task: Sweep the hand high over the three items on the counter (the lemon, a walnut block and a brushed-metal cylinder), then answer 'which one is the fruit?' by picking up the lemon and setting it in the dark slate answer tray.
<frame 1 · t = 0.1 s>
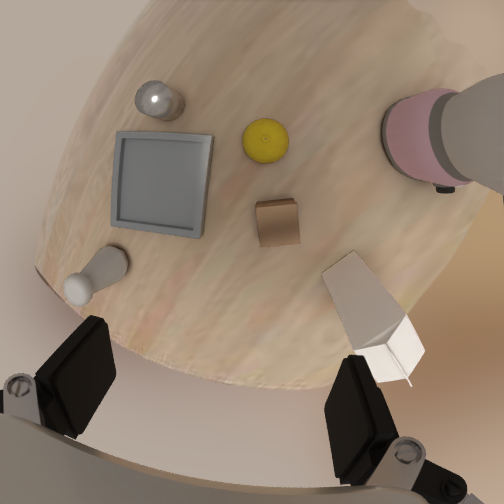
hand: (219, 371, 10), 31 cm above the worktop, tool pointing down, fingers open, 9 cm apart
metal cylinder: (169, 106, 36), on the worktop
blender: (416, 149, 36), on the worktop
walnut block: (276, 217, 40), on the worktop
lemon: (265, 142, 37), on the worktop
answer tray: (160, 181, 39), on the worktop
salt shaker: (117, 259, 43), on the worktop
milk: (347, 275, 42), on the worktop
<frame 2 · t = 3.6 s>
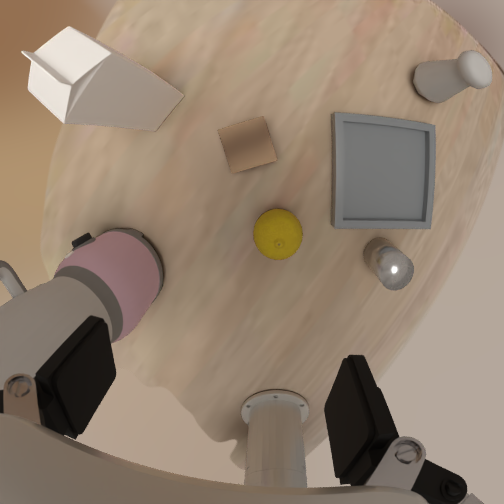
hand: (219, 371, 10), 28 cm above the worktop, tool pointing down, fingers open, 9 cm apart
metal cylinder: (378, 252, 37), on the worktop
blender: (123, 256, 39), on the worktop
walnut block: (250, 145, 33), on the worktop
lemon: (276, 224, 37), on the worktop
answer tray: (383, 172, 33), on the worktop
salt shaker: (424, 85, 29), on the worktop
milk: (154, 101, 32), on the worktop
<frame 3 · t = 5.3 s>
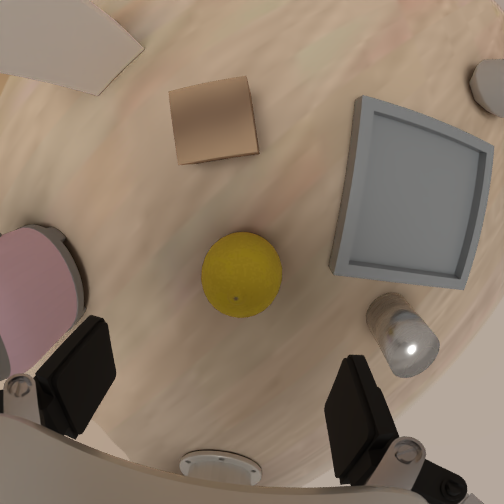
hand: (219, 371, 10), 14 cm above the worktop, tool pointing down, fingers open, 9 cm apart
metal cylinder: (387, 313, 25), on the worktop
blender: (44, 261, 26), on the worktop
walnut block: (223, 127, 21), on the worktop
lemon: (246, 254, 24), on the worktop
answer tray: (417, 199, 22), on the worktop
salt shaker: (482, 91, 18), on the worktop
milk: (106, 56, 19), on the worktop
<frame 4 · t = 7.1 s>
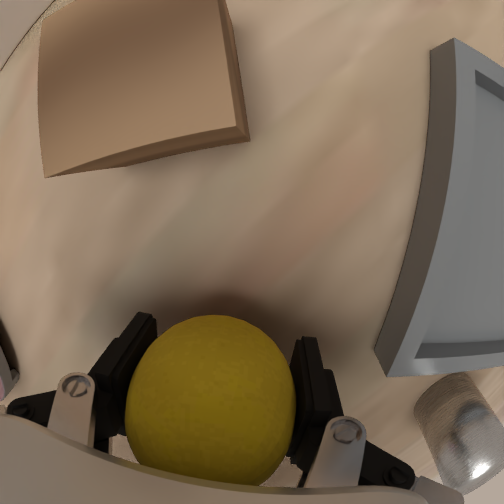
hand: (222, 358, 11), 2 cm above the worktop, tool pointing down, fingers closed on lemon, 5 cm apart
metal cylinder: (443, 397, 14), on the worktop
walnut block: (176, 91, 9), on the worktop
lemon: (227, 334, 13), on the worktop, touching gripper
milk: (19, 13, 7), on the worktop
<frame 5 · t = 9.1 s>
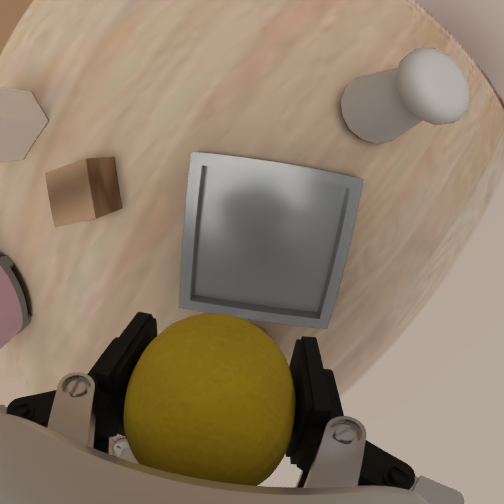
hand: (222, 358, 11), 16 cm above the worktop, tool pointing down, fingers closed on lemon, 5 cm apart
blender: (3, 279, 30), on the worktop
walnut block: (97, 187, 25), on the worktop
lemon: (226, 333, 13), point 14 cm above the worktop, touching gripper
answer tray: (265, 241, 26), on the worktop
salt shaker: (365, 113, 22), on the worktop
milk: (27, 124, 23), on the worktop
when the fingers open (4 cm above the worktop, at t = 11.5 s): lemon drops 1 cm, resting on answer tray.
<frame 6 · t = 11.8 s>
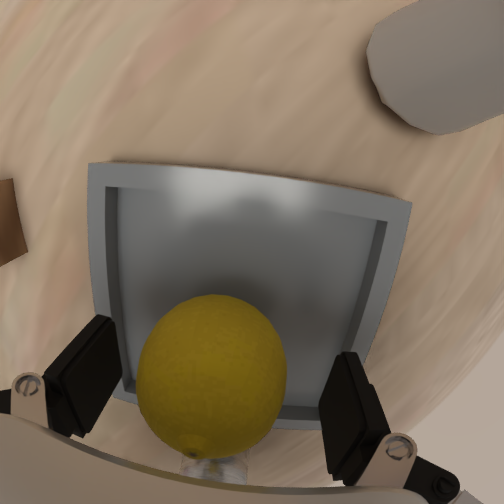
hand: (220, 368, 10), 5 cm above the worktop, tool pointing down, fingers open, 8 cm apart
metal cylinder: (220, 432, 18), on the worktop
walnut block: (1, 221, 14), on the worktop
lemon: (226, 317, 14), point 1 cm above the worktop, touching answer tray
answer tray: (232, 310, 15), on the worktop
salt shaker: (405, 81, 11), on the worktop
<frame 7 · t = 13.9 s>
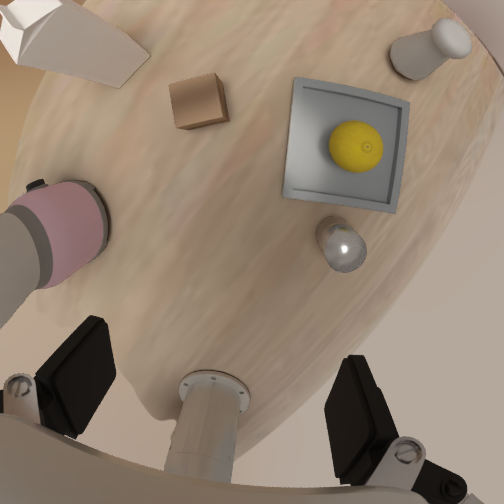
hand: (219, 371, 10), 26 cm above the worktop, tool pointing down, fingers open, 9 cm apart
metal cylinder: (333, 233, 35), on the worktop
blender: (76, 209, 36), on the worktop
walnut block: (205, 106, 31), on the worktop
lemon: (345, 146, 31), point 1 cm above the worktop, touching answer tray
answer tray: (346, 145, 31), on the worktop
salt shaker: (403, 63, 27), on the worktop
milk: (123, 60, 29), on the worktop
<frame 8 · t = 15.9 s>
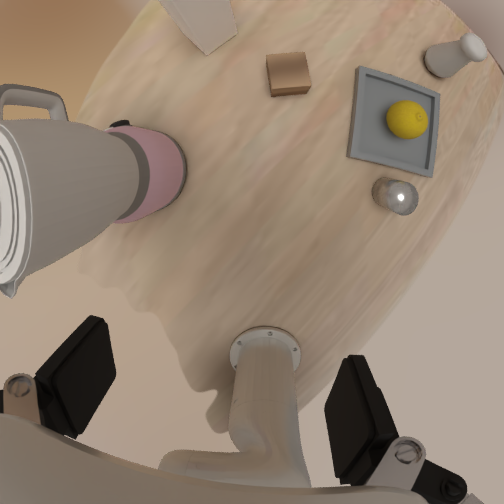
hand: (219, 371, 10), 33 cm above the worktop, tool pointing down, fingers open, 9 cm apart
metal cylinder: (384, 192, 40), on the worktop
blender: (148, 160, 40), on the worktop
walnut block: (286, 79, 36), on the worktop
lemon: (394, 122, 36), point 1 cm above the worktop, touching answer tray
answer tray: (394, 122, 36), on the worktop
salt shaker: (433, 65, 32), on the worktop
milk: (210, 33, 34), on the worktop
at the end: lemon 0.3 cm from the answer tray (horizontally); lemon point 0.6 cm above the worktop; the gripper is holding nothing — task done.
